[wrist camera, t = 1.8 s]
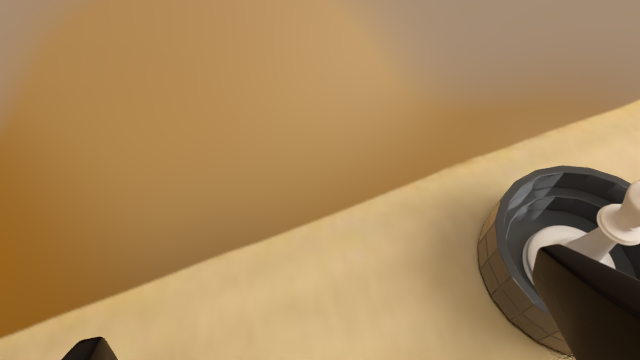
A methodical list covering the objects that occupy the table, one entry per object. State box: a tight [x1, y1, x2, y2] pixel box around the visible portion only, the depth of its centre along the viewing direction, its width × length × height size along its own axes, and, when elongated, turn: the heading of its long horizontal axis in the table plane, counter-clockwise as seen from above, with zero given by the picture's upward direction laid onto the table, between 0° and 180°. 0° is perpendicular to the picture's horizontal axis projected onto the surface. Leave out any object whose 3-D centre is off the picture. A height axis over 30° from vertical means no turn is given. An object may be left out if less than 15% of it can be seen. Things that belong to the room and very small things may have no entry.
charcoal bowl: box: [478, 166, 640, 356], centre depth 23 cm, size 10×10×4 cm
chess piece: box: [522, 180, 640, 285], centre depth 20 cm, size 5×5×10 cm
